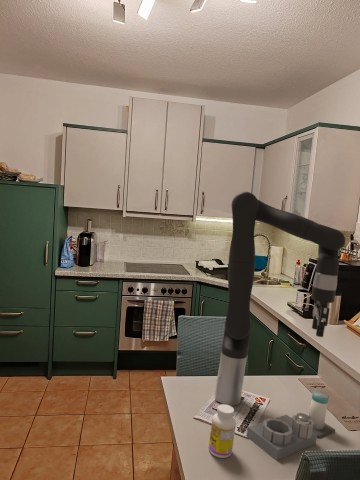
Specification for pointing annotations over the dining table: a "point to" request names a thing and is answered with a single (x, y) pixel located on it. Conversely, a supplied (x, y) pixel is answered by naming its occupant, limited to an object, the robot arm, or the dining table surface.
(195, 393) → the dining table surface
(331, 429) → the mat
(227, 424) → the supplement bottle
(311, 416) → the cartridge
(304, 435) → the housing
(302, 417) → the plunger
